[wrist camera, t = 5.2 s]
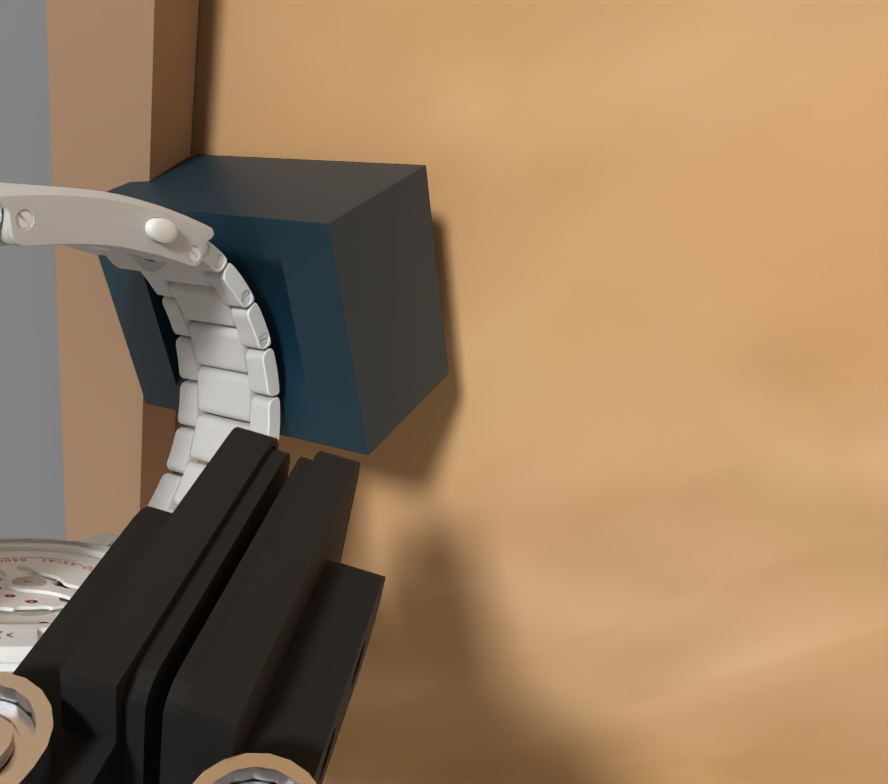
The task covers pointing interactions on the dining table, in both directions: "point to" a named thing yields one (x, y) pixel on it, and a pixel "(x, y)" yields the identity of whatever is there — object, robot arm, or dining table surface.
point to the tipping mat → (82, 256)
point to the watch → (242, 320)
